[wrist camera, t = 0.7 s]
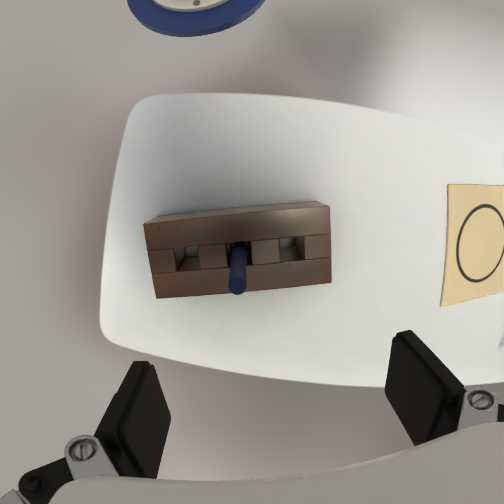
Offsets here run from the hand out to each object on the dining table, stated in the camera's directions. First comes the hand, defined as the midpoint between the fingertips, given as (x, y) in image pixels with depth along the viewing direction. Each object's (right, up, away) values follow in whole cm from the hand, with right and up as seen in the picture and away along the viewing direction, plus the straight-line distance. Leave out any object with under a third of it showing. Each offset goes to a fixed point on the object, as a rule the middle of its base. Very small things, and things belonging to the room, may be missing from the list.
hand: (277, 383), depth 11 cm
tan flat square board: (+30, +6, +22) cm, 38 cm away
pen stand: (-2, +6, +21) cm, 22 cm away
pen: (-2, +6, +21) cm, 22 cm away
